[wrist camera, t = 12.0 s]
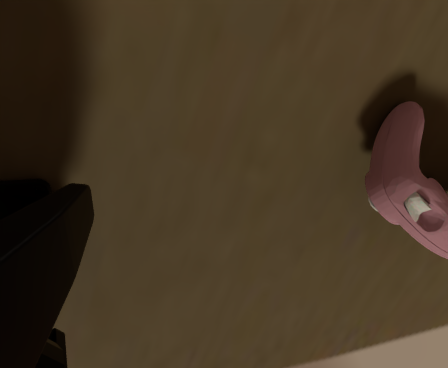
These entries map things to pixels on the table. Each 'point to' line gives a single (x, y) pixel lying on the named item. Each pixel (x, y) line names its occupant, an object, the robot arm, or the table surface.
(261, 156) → the table surface
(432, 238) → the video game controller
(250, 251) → the table surface
